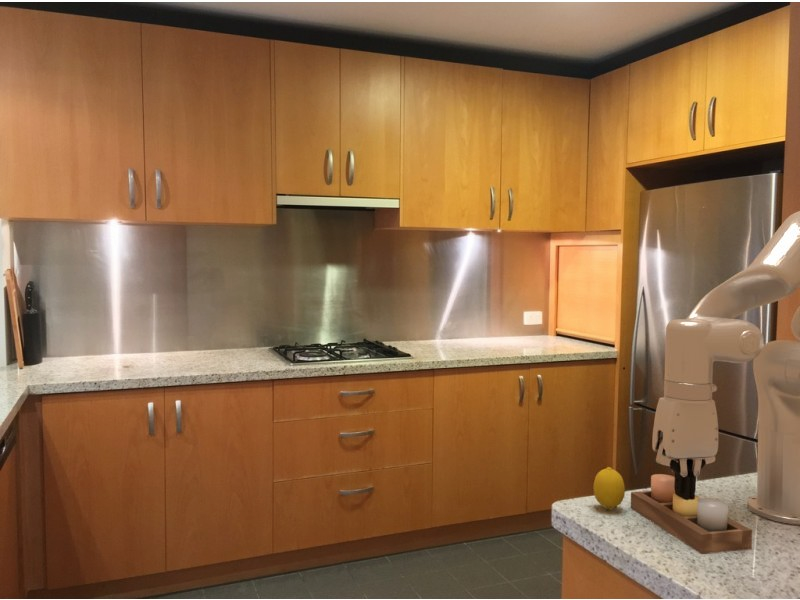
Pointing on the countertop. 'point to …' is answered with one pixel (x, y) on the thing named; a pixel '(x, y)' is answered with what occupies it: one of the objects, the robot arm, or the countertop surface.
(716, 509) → the grey short rounded cylinder
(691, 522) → the wooden compartment tray
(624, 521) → the countertop surface
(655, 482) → the pink cylinder
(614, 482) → the lemon
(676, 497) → the yellow short cylinder
